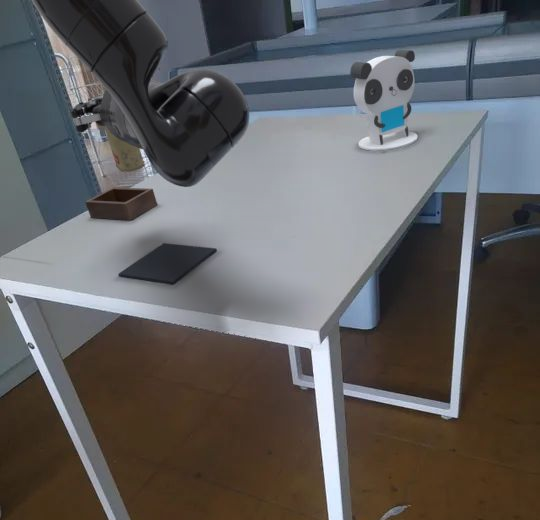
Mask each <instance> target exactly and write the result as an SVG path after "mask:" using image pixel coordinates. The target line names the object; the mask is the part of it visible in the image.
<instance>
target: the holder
mask: <svg viewBox="0 0 540 520" xmlns="http://www.w3.org/2000/svg"><path fill="white" fill-rule="evenodd" d="M154 191H155V190H154V188H146V187H145V188H143V187H142V188H140V187H117V186H116V187H111V188H109V189H106V190H105V191H103V192H101V193H99V194H97V195H95V196H94V197H92V198H90V199H87V200H86V201H84V203H85V206H86V208H87V211H88V213H89V217H90V218H91V219H103V220H104V219H105V220H116V221H118V220H119V221H133V220H134V219H136V218H138V217H140V216H141V215H144V213H145V214H146V212H148V211H149V210H151V209H153V208H155V207H156V206H158V202H157V198H156V196H155V192H154Z"/></svg>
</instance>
